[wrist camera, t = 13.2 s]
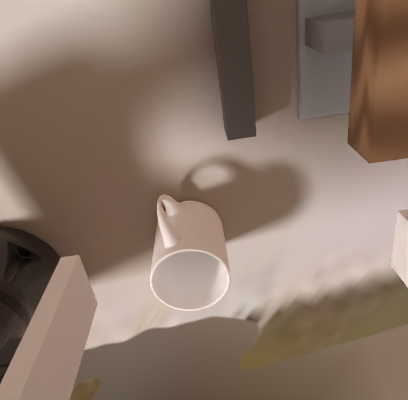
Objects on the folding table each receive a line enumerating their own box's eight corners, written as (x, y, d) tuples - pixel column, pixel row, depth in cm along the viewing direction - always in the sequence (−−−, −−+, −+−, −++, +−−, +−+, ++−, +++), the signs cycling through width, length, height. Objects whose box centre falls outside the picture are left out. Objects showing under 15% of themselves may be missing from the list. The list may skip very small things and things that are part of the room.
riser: (224, 128, 43) (227, 140, 39) (202, -62, 34) (204, -68, 30) (250, 124, 42) (256, 136, 39) (235, -67, 34) (241, -74, 30)
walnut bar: (388, 137, 36) (416, 156, 32) (347, 143, 36) (369, 163, 32) (417, -127, 27) (462, -150, 22) (361, -117, 27) (395, -139, 22)
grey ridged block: (298, 117, 42) (317, 138, 36) (296, -77, 34) (320, -92, 27) (386, 104, 42) (421, 123, 36) (407, -95, 33) (457, -115, 27)
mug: (194, 165, 45) (195, 210, 35) (232, 238, 50) (242, 295, 41) (131, 192, 46) (117, 243, 37) (175, 261, 52) (172, 320, 42)
